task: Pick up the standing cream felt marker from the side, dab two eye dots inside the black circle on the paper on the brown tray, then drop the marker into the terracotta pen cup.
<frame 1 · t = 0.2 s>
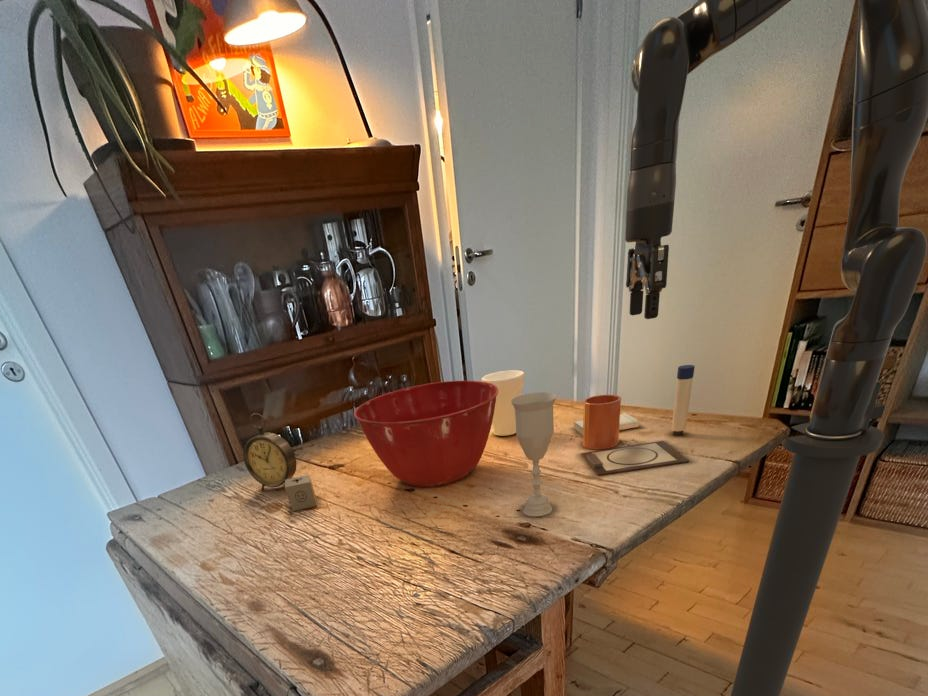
hand: (642, 316, 96), 23 cm above the table, tool pointing down, fingers open, 8 cm apart
alarm clock: (281, 488, 118), on the table
cup: (506, 434, 127), on the table
grey cube: (304, 505, 107), on the table
chalice: (537, 511, 89), on the table
hard drive: (605, 428, 120), on the table
mixing bowl: (437, 476, 110), on the table
marker: (678, 434, 110), on the table
pen cup: (600, 443, 112), on the table
brown tray: (631, 458, 102), on the table
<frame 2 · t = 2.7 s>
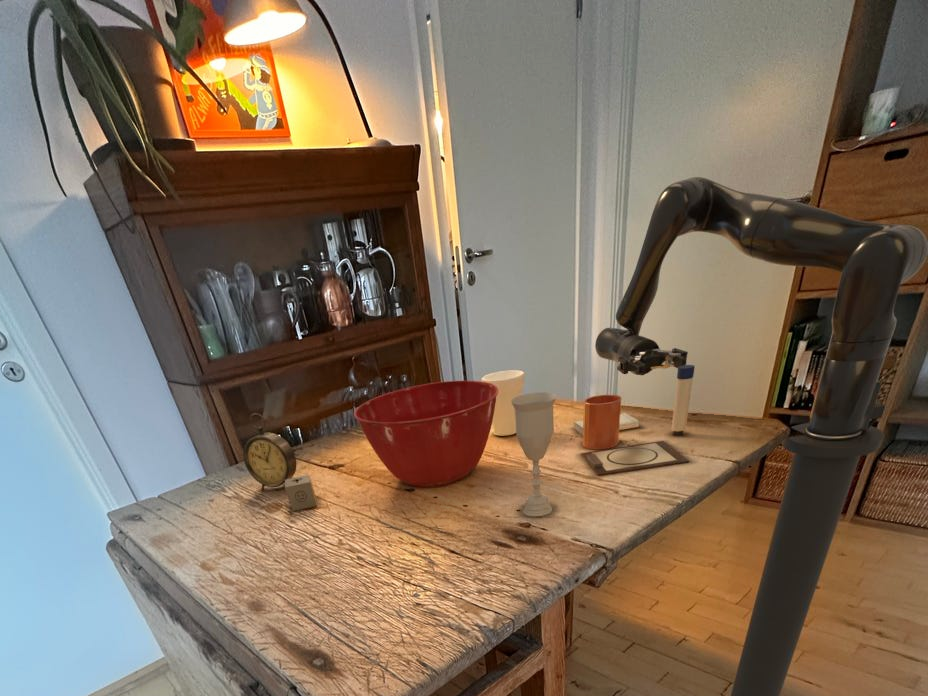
hand: (663, 367, 112), 11 cm above the table, tool horizontal, fingers open, 8 cm apart
nothing on the table moved.
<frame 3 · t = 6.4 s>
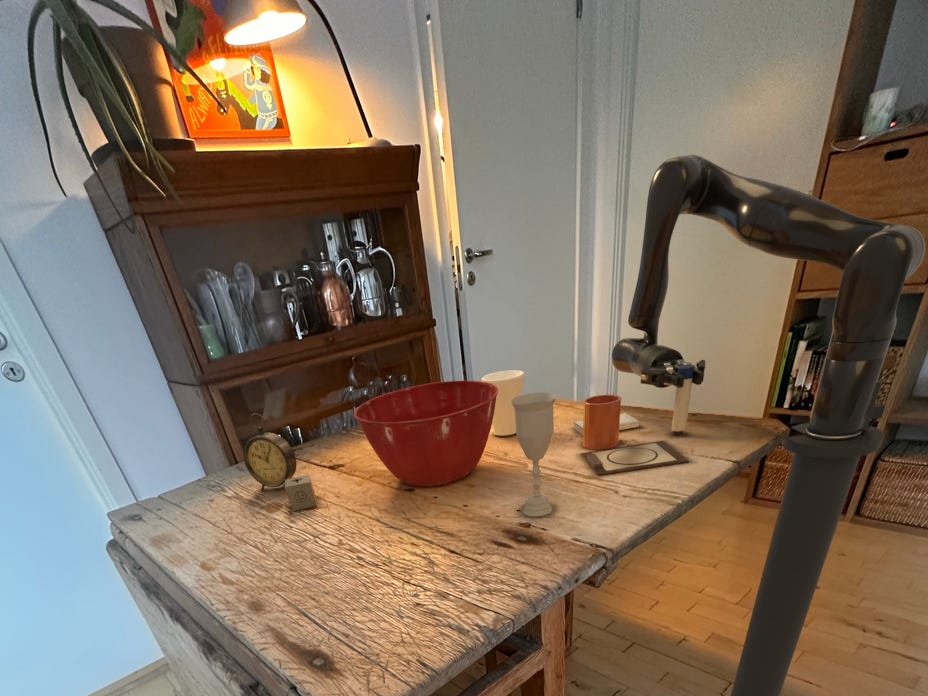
hand: (691, 380, 101), 11 cm above the table, tool horizontal, fingers closed on marker, 3 cm apart
marker: (678, 434, 110), on the table, touching gripper
everything else where it was.
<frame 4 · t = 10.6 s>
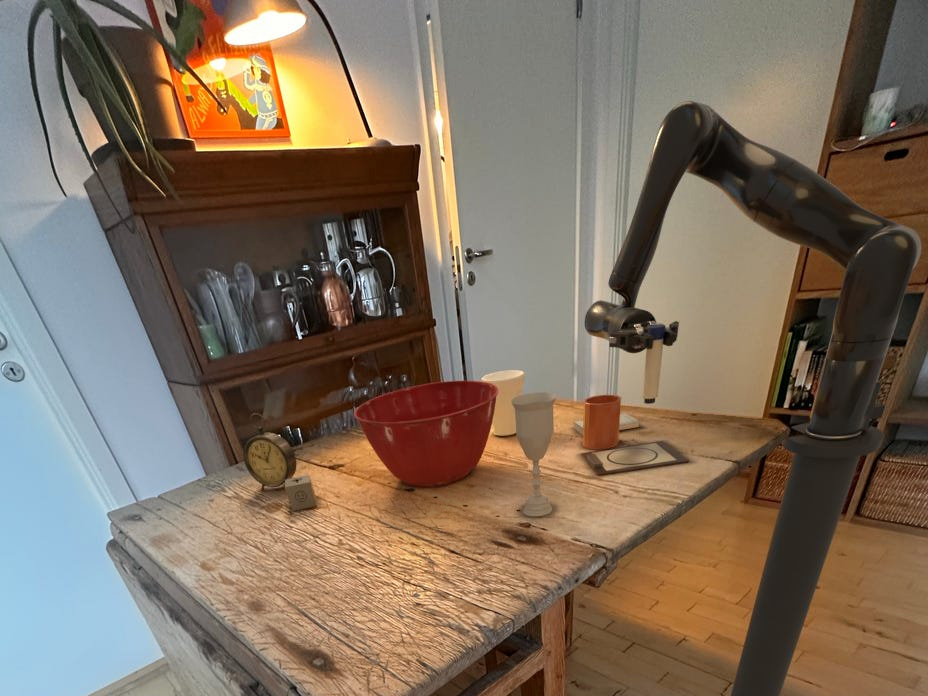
hand: (661, 340, 92), 20 cm above the table, tool horizontal, fingers closed on marker, 3 cm apart
marker: (649, 402, 101), point 9 cm above the table, touching gripper
everything else where it was.
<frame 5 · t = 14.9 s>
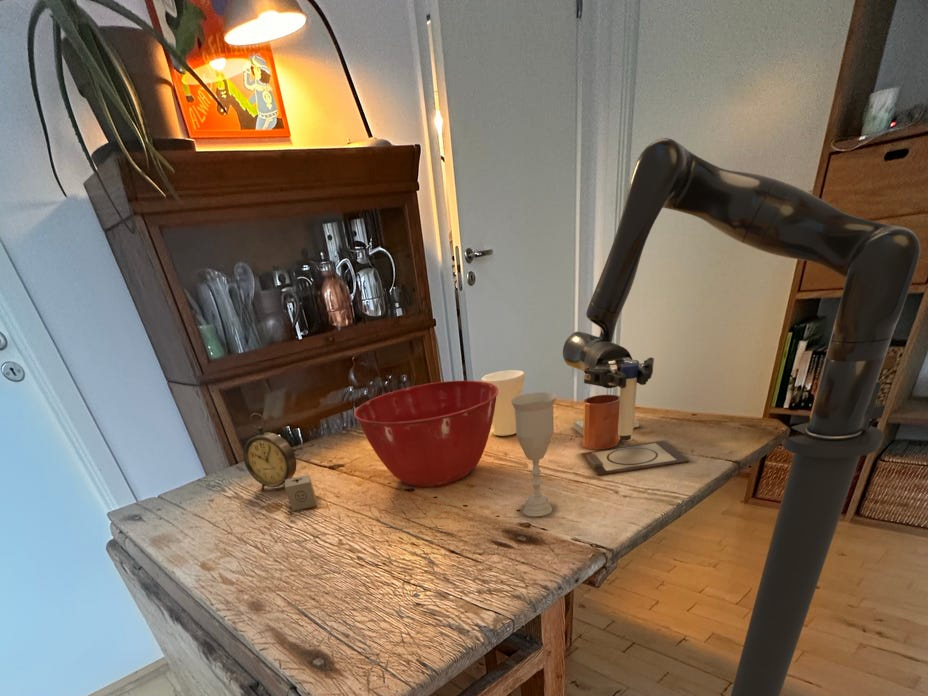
hand: (634, 380, 91), 15 cm above the table, tool horizontal, fingers closed on marker, 3 cm apart
marker: (625, 438, 100), point 4 cm above the table, touching gripper
everything else where it was.
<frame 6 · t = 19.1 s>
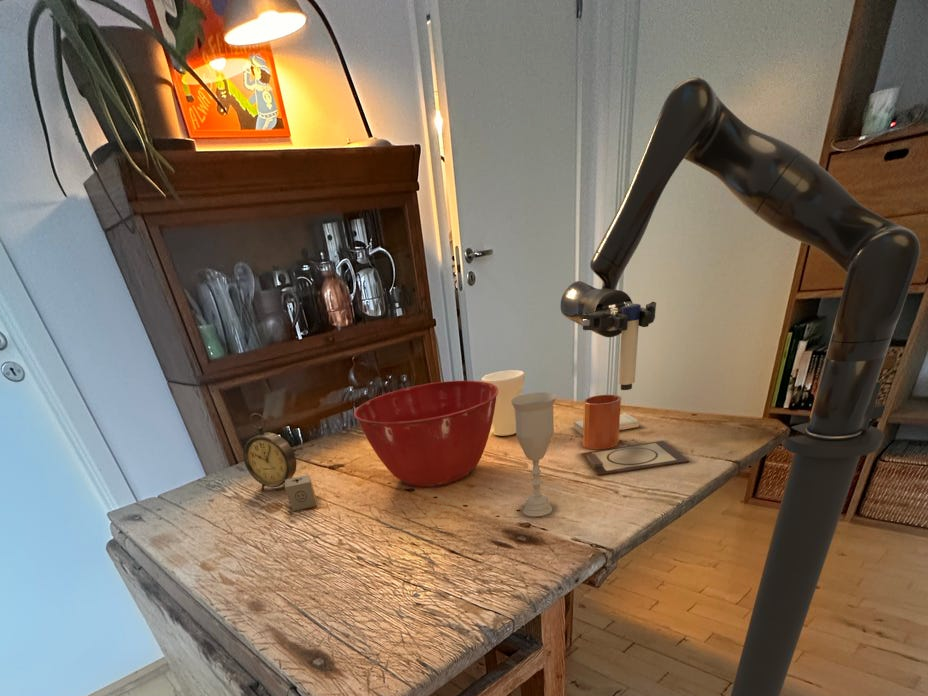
hand: (636, 321, 86), 24 cm above the table, tool horizontal, fingers closed on marker, 3 cm apart
marker: (626, 388, 95), point 13 cm above the table, touching gripper
everything else where it was.
when the fingers open (17 cm above the table, at t = 23.2 s): marker drops 6 cm, resting on pen cup.
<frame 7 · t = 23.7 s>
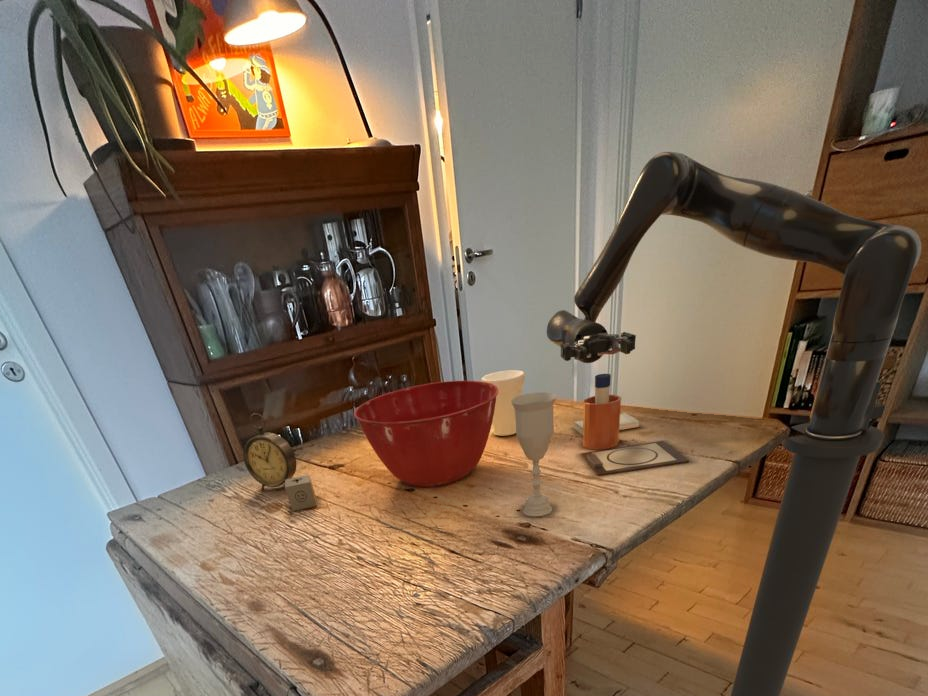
hand: (607, 351, 99), 18 cm above the table, tool horizontal, fingers open, 8 cm apart
marker: (600, 441, 111), resting on pen cup
everything else where it was.
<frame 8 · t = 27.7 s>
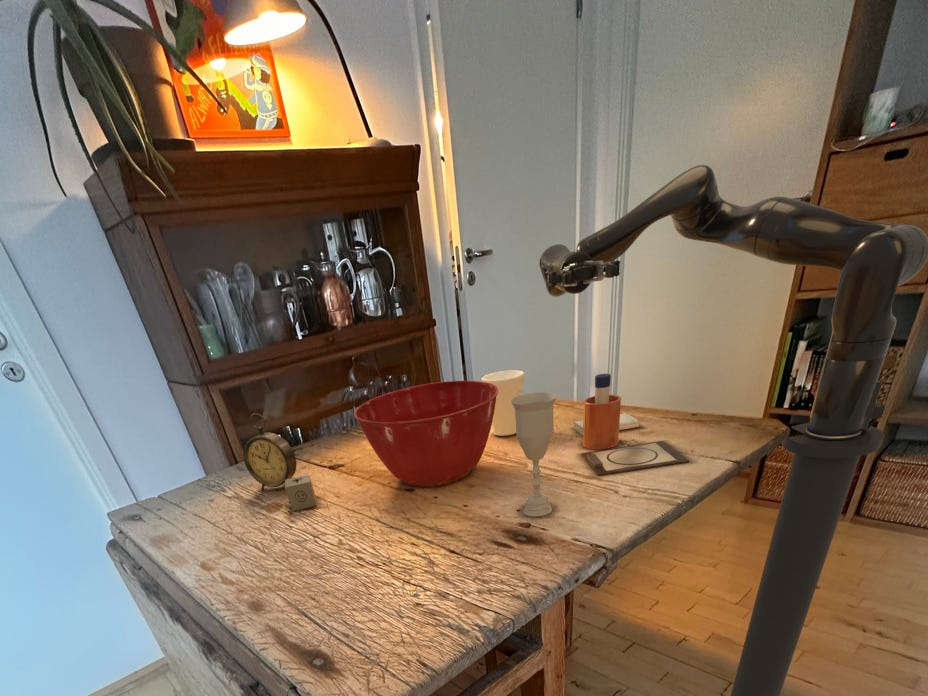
hand: (591, 274, 102), 30 cm above the table, tool horizontal, fingers open, 8 cm apart
nothing on the table moved.
at the end: marker 0.1 cm off-centre in the pen cup, point 0.5 cm above the pen cup's base; the gripper is holding nothing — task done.
